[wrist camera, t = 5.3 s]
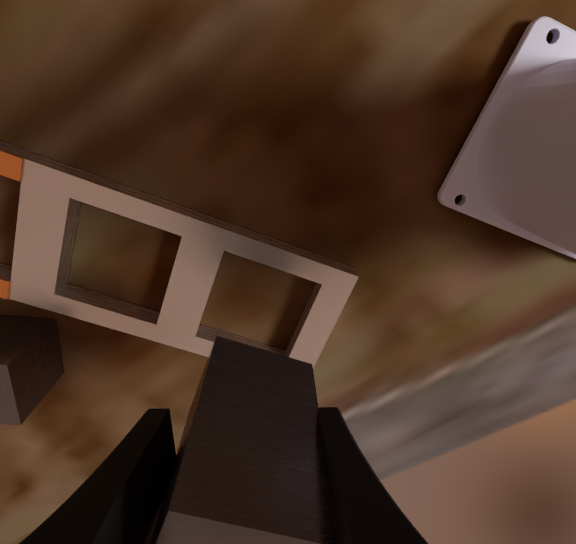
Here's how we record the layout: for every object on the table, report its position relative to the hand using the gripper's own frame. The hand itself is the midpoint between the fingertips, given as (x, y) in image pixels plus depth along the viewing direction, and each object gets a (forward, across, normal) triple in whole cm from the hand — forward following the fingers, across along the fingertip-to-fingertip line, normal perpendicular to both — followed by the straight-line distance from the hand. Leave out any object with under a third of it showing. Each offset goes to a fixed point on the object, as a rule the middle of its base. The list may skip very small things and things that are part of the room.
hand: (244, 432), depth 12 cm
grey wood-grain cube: (+9, +13, +3) cm, 16 cm away
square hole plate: (+9, +7, -2) cm, 11 cm away
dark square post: (+2, 0, 0) cm, 2 cm away
